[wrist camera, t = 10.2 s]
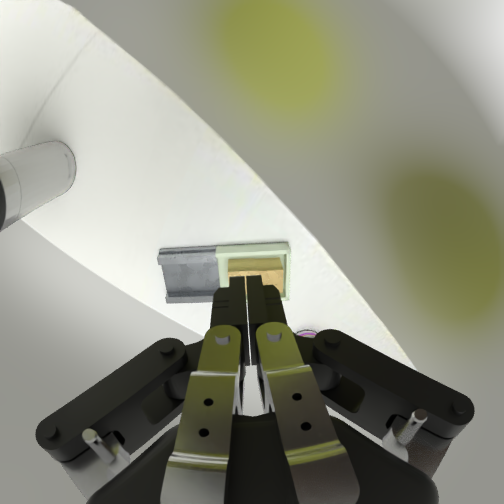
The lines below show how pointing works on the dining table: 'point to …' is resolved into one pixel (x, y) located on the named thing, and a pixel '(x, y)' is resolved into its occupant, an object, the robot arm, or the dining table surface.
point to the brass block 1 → (241, 268)
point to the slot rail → (190, 274)
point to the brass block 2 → (270, 271)
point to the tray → (255, 252)
